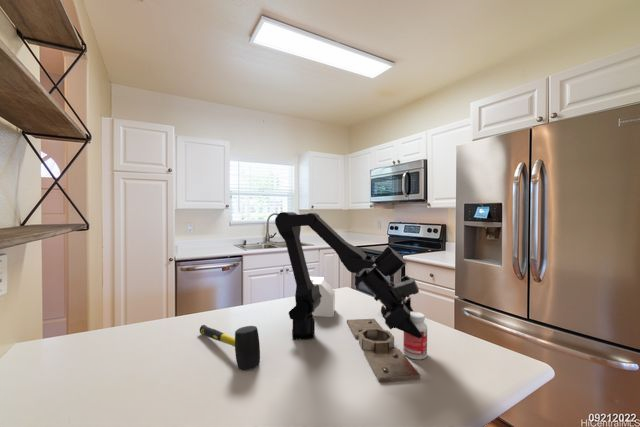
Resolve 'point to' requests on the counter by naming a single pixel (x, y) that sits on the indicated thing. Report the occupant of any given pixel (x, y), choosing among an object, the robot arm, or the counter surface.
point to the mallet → (239, 344)
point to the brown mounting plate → (382, 352)
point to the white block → (324, 298)
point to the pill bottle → (412, 344)
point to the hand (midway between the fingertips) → (420, 331)
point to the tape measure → (383, 311)
